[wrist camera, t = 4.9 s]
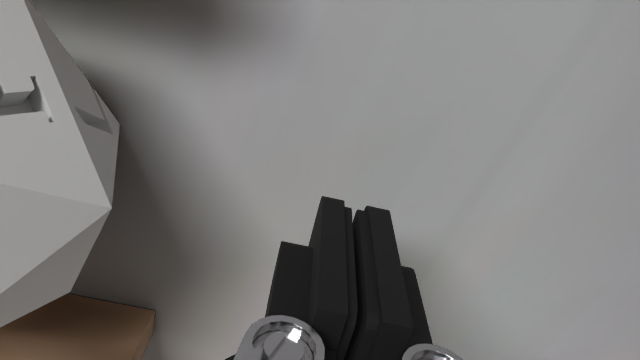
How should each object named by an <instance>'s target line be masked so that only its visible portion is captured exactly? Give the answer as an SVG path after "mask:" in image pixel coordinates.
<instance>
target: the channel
mask: <svg viewBox="0 0 640 360" xmlns="http://www.w3.org/2000/svg"><path fill="white" fill-rule="evenodd" d="M154 316H155V311H153V310H148V309H143V308H138V307H133V306H128V305H122V304H117V303H112V302H107V301H102V300H97V299H92V298H87V297H82V296H77V295H72V294H65V295H63V296H61V297H59V298H57V299H55V300H53V301H51V302H49V303H47V304H45V305H43V306H41V307H40V308H38V309H36V310H34V311H32V312H30V313H28V314H26V315H24V316H22V317H20V318H18V319H16V320H14V321H12V322H10V323H8V324H6V325H4V326H2V327H0V360H141V358H142V356H143V354H144V351H145V349H146V347H147V345H148V343H149V341H150V339H151V337H152V335H153V326H154Z"/></svg>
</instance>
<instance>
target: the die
mask: <svg viewBox="0 0 640 360" xmlns="http://www.w3.org/2000/svg"><path fill="white" fill-rule="evenodd" d="M119 128H120V124H119V122H118V121H117V120H116V118H115V117H114V115H113V114H112V113H111V111H110V110H109V109H108V107H107V106H106V104H105V103H104V102H103V100H102V99H101V98H100V96H99V95H98V94H97V92H96V91H95V89H93V88H91V86H90V83H89V81H88V80H87V78H86V77H85V76H84V74H83V73H82V72H81V70H80V69H79V67H78V66H77V65H76V63H75V62H74V61H73V59H72V58H71V56H70V55H69V54H68V52H67V51H66V50H65V48H64V47H63V46H62V44H61V43H60V41H59V40H58V39H57V37H56V36H55V35H54V33H53V32H52V30H51V29H50V28H49V26H48V25H47V24H46V22H45V21H44V19H43V18H42V17H41V15H40V14H39V13H38V11H37V10H36V8H35V7H34V6H33V4H32V3H31V2H30V0H0V327H2V326H4V325H6V324H8V323H10V322H12V321H14V320H16V319H18V318H20V317H22V316H24V315H26V314H28V313H30V312H32V311H34V310H36V309H38V308H40V307H41V306H43V305H45V304H47V303H49V302H51V301H53V300H55V299H57V298H59V297H61V296H63V295H65V294H67V293H69V292H70V291H71V289H72V287H73V285H74V283H75V281H76V279H77V277H78V275H79V273H80V271H81V269H82V267H83V265H84V263H85V261H86V259H87V257H88V255H89V253H90V251H91V249H92V247H93V245H94V243H95V241H96V239H97V237H98V235H99V233H100V231H101V229H102V227H103V225H104V223H105V221H106V219H107V217H108V215H109V213H110V211H111V209H112V202H113V192H114V181H115V171H116V160H117V150H118V139H119Z"/></svg>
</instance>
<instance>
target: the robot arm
mask: <svg viewBox="0 0 640 360" xmlns="http://www.w3.org/2000/svg"><path fill="white" fill-rule="evenodd" d="M225 360H463V359H462V358H460V357H459V356H457V355H456V354H454V353H453V352H451V351H450V350H447V349H445V348H443V347H440V346H437V345H433V344H432V340H431V336H430V332H429V327H428V323H427V319H426V315H425V311H424V307H423V303H422V299H421V295H420V291H419V287H418V283H417V279H416V275H415V272H414V270H413V269H412V268H409V267H404V266H401V264H400V259H399V254H398V249H397V244H396V239H395V235H394V230H393V225H392V220H391V215H390V211H389V210H385V209H380V208H375V207H371V206H366V208H365V210H364V211H362V210H357V211H356V214H355V217H354V220H353V223H352V209H351V208H348V207H345V206H344V201H343V200H338V199H334V198H329V197H324V196H322V198H321V201H320V204H319V208H318V212H317V216H316V219H315V223H314V227H313V231H312V235H311V238H310V242H309V246H303V245H298V244H293V243H288V242H283V241H281V245H280V249H279V253H278V258H277V262H276V267H275V271H274V276H273V280H272V285H271V290H270V294H269V299H268V304H267V310H266V315H265V318H261V319H259V320H258V321H256V322H255V323H253V324H252V325H251V326H250V327H249V329H248V330H247V332H246V333H245V335H244V337H243V340H242V342H241V344H240V346H239V348H238V351H237V353H236V354H235V355H233V356H231V357H229V358H227V359H225Z"/></svg>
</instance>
